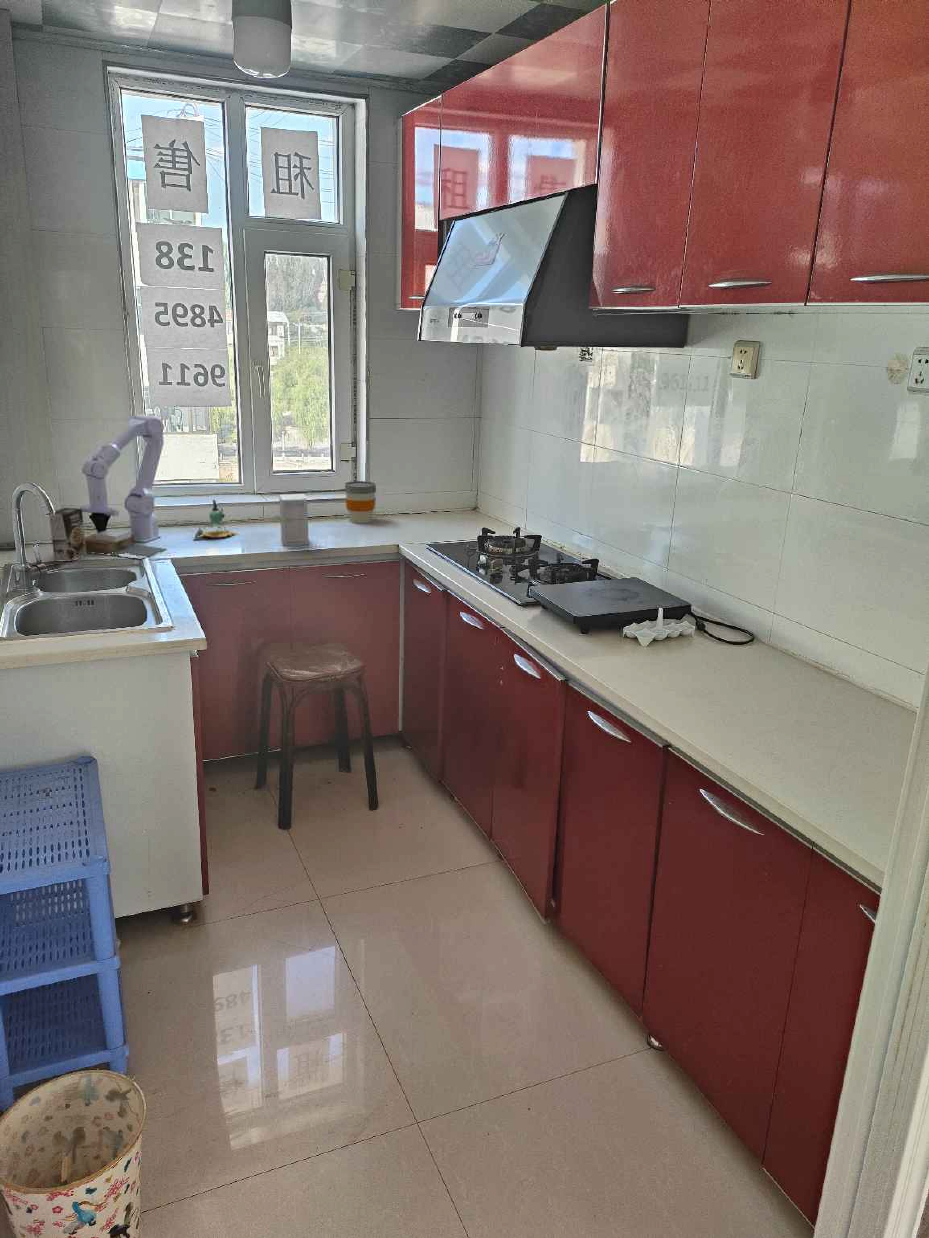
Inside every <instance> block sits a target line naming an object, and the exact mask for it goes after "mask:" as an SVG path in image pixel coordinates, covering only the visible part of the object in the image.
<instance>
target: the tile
mask: <svg viewBox="0 0 929 1238" xmlns="http://www.w3.org/2000/svg"><path fill="white" fill-rule="evenodd" d="M95 534H96V539H97V540H104V541H111V542H118V541H121V540H124V539H127V538H130V537H131V530H124V529H116V528H109V529H106V531H103V532H100V533H98V532H96V533H95Z"/></svg>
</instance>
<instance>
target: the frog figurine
mask: <svg viewBox="0 0 929 1238" xmlns="http://www.w3.org/2000/svg"><path fill="white" fill-rule="evenodd" d="M212 504H213V507H212V508H211V509H212V510H211V511H210V512H209V519H210V522H211V523H209V524H208V523H207V524H206V523H205V522H202V523H201V524H200V526H198V528H199V529H198V530H197V532H196V533H195V535H194V537H193V539H192V540H193V541H197V542H198V541H202V540H203V541H204V540H207V538H206V537H209V538H225V537H230V536H237V535H239V534H238V533H237V532H233V531H230V530H229V529H228V530H226V527H225V525H224V524H223V523H221V522H222V520H223V518H225V516H226V515H225V514H224V509H223V508H221V509H220V508H218V506H217V502H216V500H215V499H213V500H212ZM214 524H215V525H216V526H217V529H215V530H212V531H211V530H210V531H205V529H206V526H207V527H210V528H213V527H214ZM202 525H205V526H203V527H204V528H203V529H201V526H202ZM222 526H223V528H224V530H223V529H222ZM203 530H204V531H203ZM202 536H204V537H202Z"/></svg>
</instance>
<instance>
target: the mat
mask: <svg viewBox="0 0 929 1238" xmlns="http://www.w3.org/2000/svg"><path fill="white" fill-rule="evenodd" d="M165 550H166V551H168V549H167V548H165V547H164V548H163V547H156V546H148V545H141V544H135V545H133V546H130V547H127V548H124V549H121V550H118V551H116V552H113V553H110V555H117V556H119V554H125V553H127V554H128V553H129V555H130V554H131V555H136V556H150V557H152V556H155V555H157V554H156V553H158V552H160V553H163V552H165ZM154 554H155V555H154ZM158 554H159V553H158ZM110 555H109V556H110Z"/></svg>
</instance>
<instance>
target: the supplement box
mask: <svg viewBox="0 0 929 1238" xmlns="http://www.w3.org/2000/svg"><path fill="white" fill-rule="evenodd" d="M279 515H280V517H279V518H280V519H279V520H280V539H281V543H282V546H283V547H285V546H303V545H305V546H306V545H307V546H309V542H310V541H309V521H308V519H309V517H308V515H309V514H308V499H307V497H306V494H305V493H300V494H299V493H298V494H296V493H294V494H291V493H290V494H279Z"/></svg>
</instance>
